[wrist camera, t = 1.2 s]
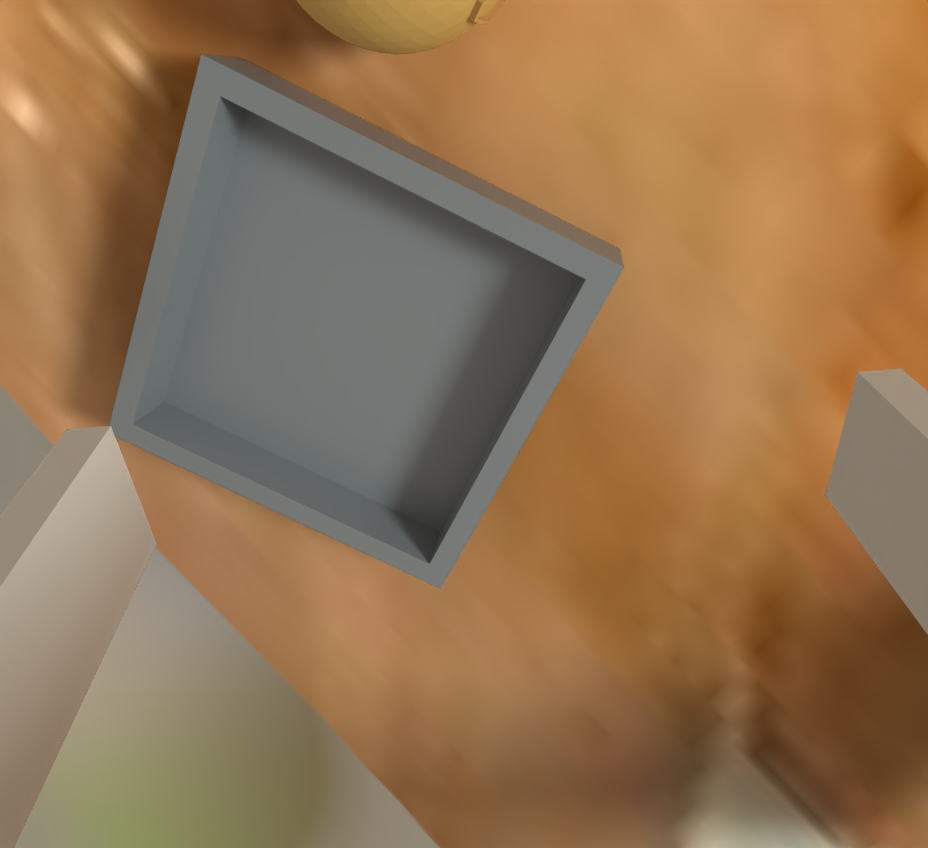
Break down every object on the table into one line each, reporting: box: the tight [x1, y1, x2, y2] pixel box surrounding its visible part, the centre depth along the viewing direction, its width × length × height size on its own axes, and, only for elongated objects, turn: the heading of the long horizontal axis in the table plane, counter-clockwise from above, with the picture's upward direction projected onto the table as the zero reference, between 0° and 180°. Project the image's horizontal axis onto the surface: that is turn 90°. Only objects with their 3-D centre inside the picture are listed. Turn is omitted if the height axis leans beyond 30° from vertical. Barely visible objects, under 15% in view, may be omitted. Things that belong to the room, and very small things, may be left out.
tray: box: [109, 54, 624, 589], centre depth 37 cm, size 20×20×4 cm
